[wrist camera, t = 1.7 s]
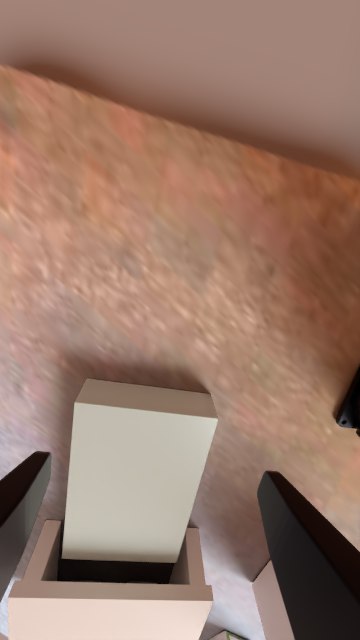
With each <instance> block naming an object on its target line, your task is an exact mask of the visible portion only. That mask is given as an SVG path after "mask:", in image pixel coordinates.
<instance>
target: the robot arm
mask: <svg viewBox="0 0 360 640" xmlns="http://www.w3.org/2000/svg"><path fill="white" fill-rule="evenodd" d="M336 423H337V424H338V425H339V426H340V427H346V428H355V429H357V431H356V433H357V435H358V436H359V437H360V368H359V370H358V372H357V374H356V377H355V379H354V381H353V383H352V385H351V387H350V390H349V392H348V394H347V396H346V398H345V400H344V402H343V405H342V407H341V409H340V411H339V413H338V415H337V418H336ZM50 475H51V453H50V452H42V451H36V452H34V453H33V454H31V455H30V456H29V457H28V458H27V459H25V460H24V461H23V462H22V463H21V464H19V465H18V466H17V467H16V468H15V469H13V470H12V471H11V472H10V473H8V474H7V475H6V476H5V477H4V478H2V479H1V480H0V602H1V600H2V598H3V596H4V593H5V591H6V589H7V587H8V585H9V583H10V580H11V578H12V576H13V574H14V572H15V570H16V567H17V565H18V563H19V561H20V559H21V556H22V554H23V552H24V549H25V547H26V544H27V542H28V539H29V536H30V534H31V531H32V528H33V525H34V522H35V520H36V517H37V514H38V511H39V508H40V506H41V503H42V500H43V497H44V494H45V492H46V489H47V486H48V483H49V480H50ZM257 497H258V502H259V507H260V512H261V516H262V521H263V526H264V531H265V535H266V540H267V545H268V549H269V554H270V558H271V562H272V565H273V569H274V572H275V575H276V579H277V582H278V585H279V589H280V592H281V596H282V599H283V602H284V606H285V609H286V612H287V616H288V619H289V622H290V626H291V629H292V632H293V636H294V639H295V640H360V552H359V551H358V550H357V549H356V548H355V547H354V546H353V545H352V544H351V543H350V542H349V541H348V540H347V539H346V538H345V537H344V536H343V535H342V534H341V533H340V532H339V531H338V530H337V529H336V528H335V527H334V526H333V525H332V524H331V523H330V522H329V521H328V520H327V519H326V518H325V517H324V516H323V515H322V514H321V513H320V512H319V511H318V510H317V509H316V508H315V507H314V506H313V505H312V504H311V503H310V502H309V501H308V500H307V499H306V498H305V497H304V496H303V495H302V494H301V493H300V492H299V491H298V490H297V489H296V488H295V487H294V486H293V485H292V484H291V483H290V482H289V481H288V480H287V479H286V478H285V477H284V476H283V475H282V474H280V473H279V472H277V471H265V472H264V474H263V476H262V479H261V482H260V484H259V487H258V491H257Z"/></svg>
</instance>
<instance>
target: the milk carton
mask: <svg viewBox="0 0 360 640" xmlns="http://www.w3.org/2000/svg"><path fill="white" fill-rule="evenodd" d="M252 588H253V592H254V595H255V599H256V603H257V607H258V611H259V615H260V618H261V622H262V626H263V630H264V634H265V638H266V640H295V639H294V636H293V632H292V629H291V626H290V622H289V619H288V616H287V612H286V609H285V606H284V602H283V599H282V596H281V592H280V589H279V585H278V582H277V579H276V575H275V572H274V569H273V565H272V562H271V560H270V561H269V562H268V564H267V565H266V566H265V568H264V569H263V570H262V572H261V573H260V574H259V576H258V577H257V578H256V579H255V581H254V582H253V584H252Z"/></svg>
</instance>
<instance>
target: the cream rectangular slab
mask: <svg viewBox="0 0 360 640" xmlns="http://www.w3.org/2000/svg"><path fill="white" fill-rule="evenodd" d="M217 422H218V416H217V413H216V410H215V407H214V403H213V400H212V397H211V394H207V393H199V392H191V391H183V390H175V389H167V388H159V387H152V386H144V385H136V384H128V383H120V382H112V381H104V380H97V379H89V378H87V379H86V381H85V383H84V385H83V387H82V389H81V391H80V393H79V395H78V397H77V399H76V400H75V403H74V415H73V427H72V439H71V452H70V464H69V476H68V488H67V501H66V513H65V525H64V537H63V550H62V559H82V560H110V561H137V562H164V563H176V562H177V559H178V555H179V552H180V548H181V545H182V542H183V538H184V535H185V531H186V528H187V525H188V521H189V518H190V514H191V511H192V507H193V504H194V501H195V497H196V494H197V490H198V487H199V483H200V480H201V477H202V473H203V470H204V466H205V463H206V459H207V456H208V453H209V449H210V446H211V442H212V439H213V435H214V432H215V429H216V425H217Z"/></svg>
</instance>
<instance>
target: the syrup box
mask: <svg viewBox="0 0 360 640" xmlns="http://www.w3.org/2000/svg"><path fill="white" fill-rule="evenodd" d="M210 640H245V639H243V638H241V637H238V636H236V635H234V634H231V633H229V632H227V631H223V632H221V633H219V634H217V635H216V636H214V637H213V638H211V639H210Z"/></svg>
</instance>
